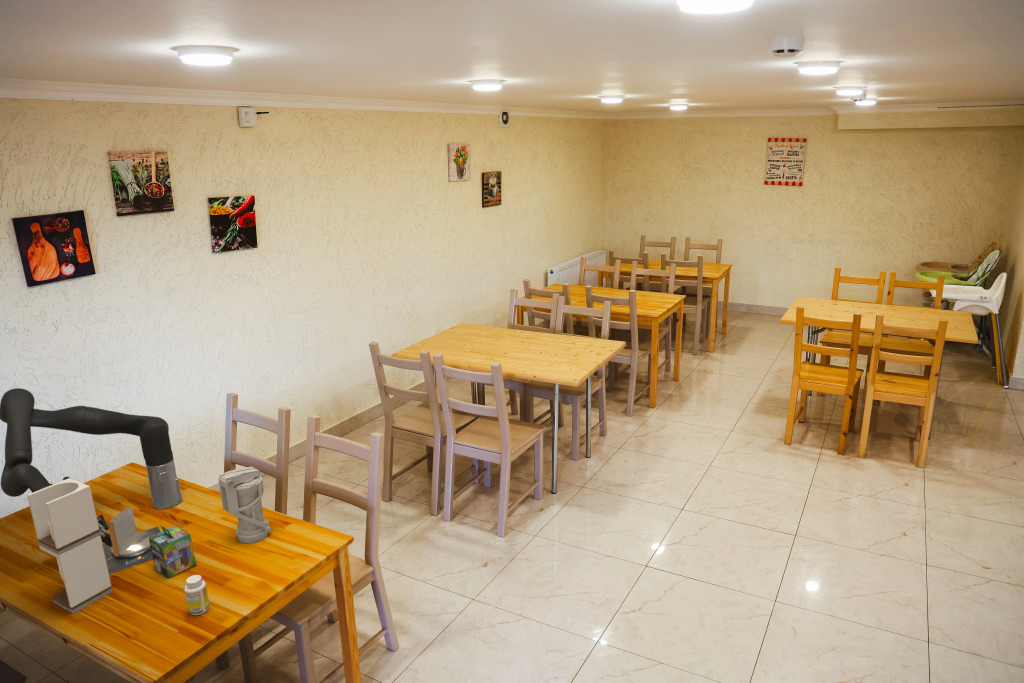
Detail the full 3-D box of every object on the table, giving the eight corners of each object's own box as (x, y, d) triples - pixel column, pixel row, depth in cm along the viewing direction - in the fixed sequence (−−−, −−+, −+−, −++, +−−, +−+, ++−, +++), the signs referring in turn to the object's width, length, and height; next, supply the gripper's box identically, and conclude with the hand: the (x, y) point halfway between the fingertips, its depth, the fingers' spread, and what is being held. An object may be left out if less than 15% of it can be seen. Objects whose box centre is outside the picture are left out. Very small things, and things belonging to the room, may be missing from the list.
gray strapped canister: (259, 524, 240) (250, 458, 233) (275, 534, 233) (266, 467, 226) (224, 539, 230) (213, 472, 224) (239, 551, 224) (229, 482, 217)
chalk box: (196, 565, 217) (189, 524, 213) (168, 579, 210) (160, 537, 206) (182, 555, 222) (175, 514, 218) (153, 569, 215) (145, 527, 211)
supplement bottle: (204, 601, 199) (198, 570, 197) (213, 608, 196) (208, 577, 193) (185, 610, 195) (179, 579, 192) (194, 618, 192) (188, 587, 189)
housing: (158, 530, 237) (157, 525, 237) (171, 552, 224) (170, 548, 223) (99, 549, 227) (98, 544, 226) (109, 574, 213) (108, 569, 213)
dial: (128, 534, 232) (121, 498, 228) (164, 536, 230) (157, 500, 226) (98, 559, 218) (90, 521, 214) (136, 561, 216) (128, 523, 212)
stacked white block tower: (92, 581, 210) (69, 478, 200) (112, 591, 205) (89, 486, 195) (53, 602, 200) (27, 495, 191) (73, 613, 195) (47, 504, 185)
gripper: (70, 509, 220) (116, 540, 224) (47, 531, 207) (97, 563, 212) (84, 493, 219) (131, 525, 224) (63, 514, 206) (112, 547, 211)
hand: (114, 543), depth 218 cm, fingers closed
